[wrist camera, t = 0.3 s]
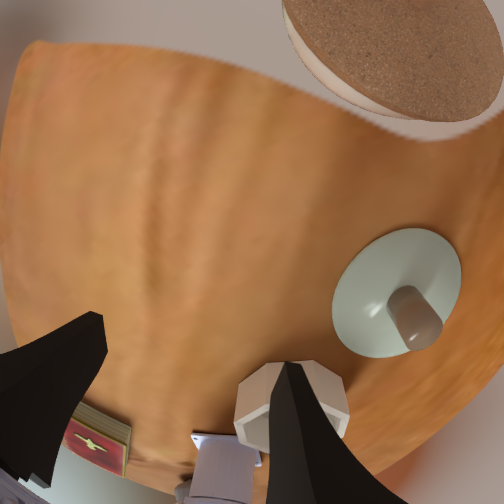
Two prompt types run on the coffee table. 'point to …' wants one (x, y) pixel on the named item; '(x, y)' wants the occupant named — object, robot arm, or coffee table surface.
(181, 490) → the coffee pot
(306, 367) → the bowl
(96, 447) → the hardcover book
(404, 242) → the lid
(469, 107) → the lidded jar
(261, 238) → the coffee table surface
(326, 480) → the robot arm
